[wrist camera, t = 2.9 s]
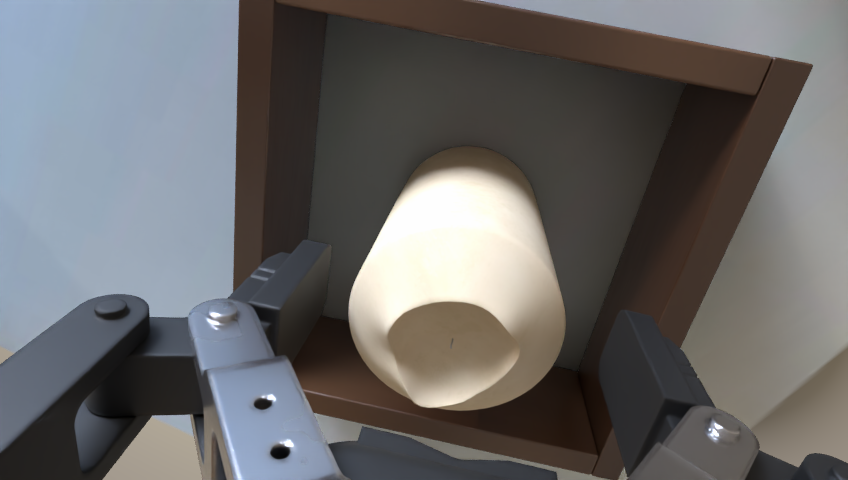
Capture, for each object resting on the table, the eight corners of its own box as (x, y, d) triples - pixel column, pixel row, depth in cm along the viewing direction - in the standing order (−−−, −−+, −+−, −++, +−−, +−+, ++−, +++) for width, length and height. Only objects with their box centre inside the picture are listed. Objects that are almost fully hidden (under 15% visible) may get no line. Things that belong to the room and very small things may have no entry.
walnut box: (279, 323, 24) (230, 395, 19) (303, -28, 18) (238, -46, 13) (592, 392, 23) (617, 481, 19) (728, 53, 17) (814, 64, 13)
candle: (484, 293, 22) (480, 486, 13) (376, 226, 21) (292, 378, 12) (565, 194, 20) (630, 341, 11) (448, 115, 19) (411, 200, 10)
